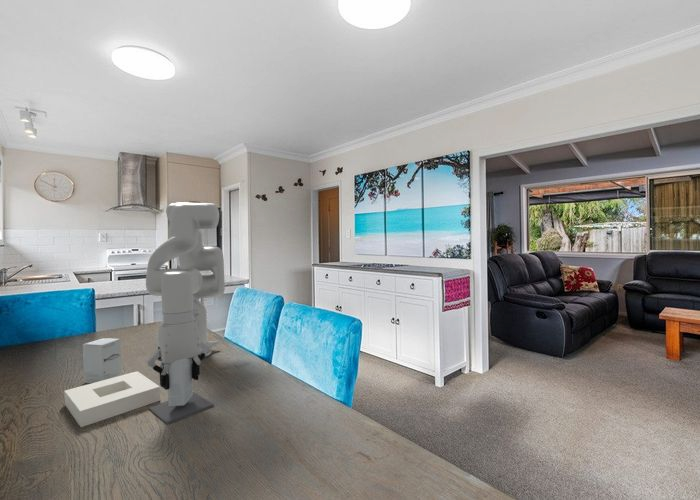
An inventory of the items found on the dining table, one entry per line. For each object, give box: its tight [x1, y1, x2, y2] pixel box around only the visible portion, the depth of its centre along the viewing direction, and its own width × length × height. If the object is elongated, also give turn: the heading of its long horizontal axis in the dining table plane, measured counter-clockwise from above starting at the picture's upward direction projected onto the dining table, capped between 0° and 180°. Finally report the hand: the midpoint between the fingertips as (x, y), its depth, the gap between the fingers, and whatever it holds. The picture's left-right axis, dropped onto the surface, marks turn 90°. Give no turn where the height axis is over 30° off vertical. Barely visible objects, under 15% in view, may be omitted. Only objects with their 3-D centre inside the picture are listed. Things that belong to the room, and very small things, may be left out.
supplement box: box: [82, 337, 122, 384], centre depth 114 cm, size 7×7×13 cm
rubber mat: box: [148, 391, 215, 425], centre depth 94 cm, size 12×12×1 cm
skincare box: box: [167, 358, 194, 406], centre depth 93 cm, size 6×4×12 cm
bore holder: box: [64, 371, 161, 428], centre depth 97 cm, size 18×18×4 cm
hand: (180, 382), depth 93 cm, fingers closed on skincare box, 7 cm apart
